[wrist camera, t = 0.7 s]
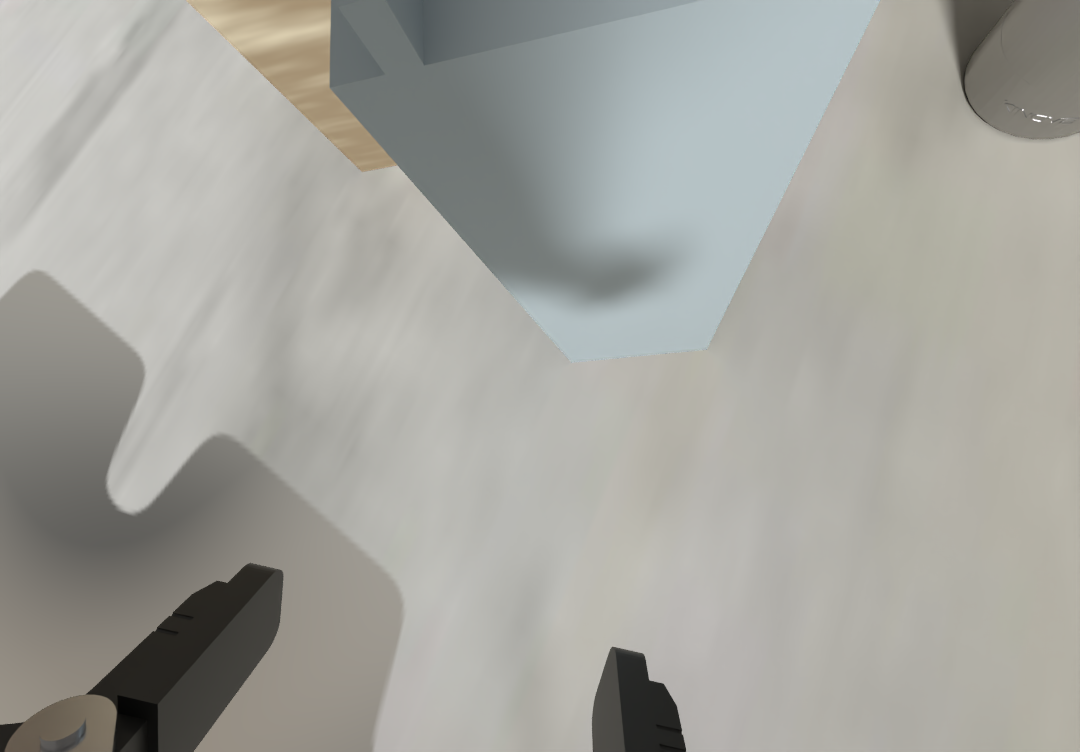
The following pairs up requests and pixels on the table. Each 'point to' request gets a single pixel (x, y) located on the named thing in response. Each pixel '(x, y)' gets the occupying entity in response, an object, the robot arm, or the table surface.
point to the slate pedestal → (600, 142)
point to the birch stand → (296, 64)
